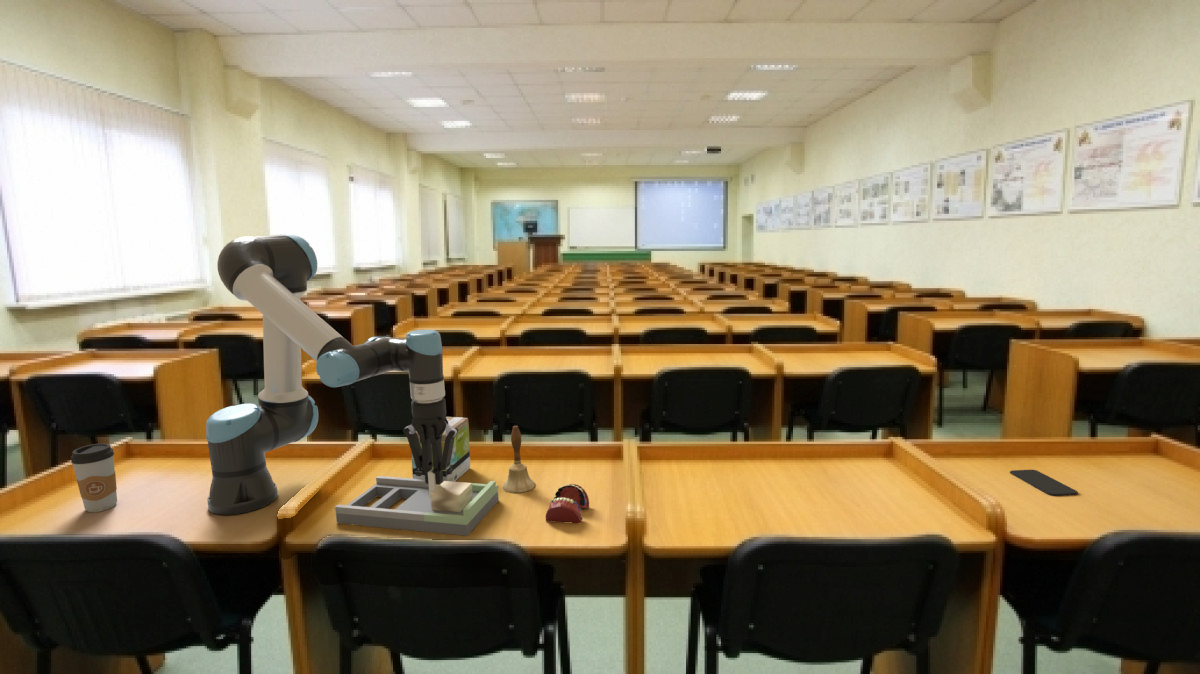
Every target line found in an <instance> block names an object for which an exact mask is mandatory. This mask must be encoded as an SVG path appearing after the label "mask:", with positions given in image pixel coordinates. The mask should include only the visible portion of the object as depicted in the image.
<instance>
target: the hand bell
mask: <svg viewBox="0 0 1200 674" xmlns="http://www.w3.org/2000/svg"><path fill="white" fill-rule="evenodd" d="M510 441H511V446H512V448H513V464H511V465H510V466H509V467H508V476H507V479H506V480H505V482H503V485H502V489H503V491H505V492H508V493H511V494H512V493H513V494H520V493H521V494H522V493H525V492H528V491H531V490H533V489H534V488H535V487H536V482H535V481H534V480H533V479H532V478H531V477H530V475H529V472H528V467H527V465H526V464H525V463H522V458H521V446H522V434H521V431H520V429H519V426H518V425H514V426H512V431H511V435H510Z"/></svg>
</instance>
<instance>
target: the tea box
mask: <svg viewBox="0 0 1200 674" xmlns="http://www.w3.org/2000/svg"><path fill="white" fill-rule="evenodd" d="M446 419H447V421H448V425H449V426H451V427H452V428H457V429H458V433H457V434H456V436H455V439H454V444H453V450H452V456H451V462H450V466H448V467H447V468H446V469H445V470H442V472H443V481H452V482H457V480H458V479H459V478H460V477H462V476H463V475H465V473H466V472H467V471H468V470H469V469H471V453H470V449H471V448H470V427H469V418H468V417H460V416H459V417H457V416H446ZM416 433H417V431H416ZM445 433H446V430H445V431H444V433H443V434H442V440H441V444H442V455H443V450H444V444H445V439H446V437H447V436H446V435H445ZM417 435H418V439H419V442H420V435H419V434H418V433H417ZM420 445H421V443H420ZM431 446H432V444H431ZM421 449H422V446H421ZM410 452H411V451H410ZM410 455H411V469H412V474H411V475H412V479H425V472H424V470H423V469H421V468H417V467H416V465H415V462H414V458H413V455H412V452H411V454H410ZM432 460H433V456H432ZM432 468H433V467H432Z"/></svg>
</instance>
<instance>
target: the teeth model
mask: <svg viewBox="0 0 1200 674" xmlns="http://www.w3.org/2000/svg"><path fill="white" fill-rule="evenodd" d="M589 508H590V499H589V495H588V493H587V492H586V490H585V489H584V488H583V487H582V486H581V485H579V484H576V483H569V484H565V485H564V484H563V485H562V486H559V487H558V489H557V490H556V491H555V494H554V497H553V499H552V500H551V501H550V502H549V505H548V508H547V511H546V513H545V522H551V521H555V522H554V523H564V522H572V523H571V524H578V523H581V524H582V520H583V518H582V509H583V510H584V509H586V510H587V509H589Z"/></svg>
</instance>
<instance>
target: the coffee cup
mask: <svg viewBox="0 0 1200 674" xmlns="http://www.w3.org/2000/svg"><path fill="white" fill-rule="evenodd" d="M111 446H112V445H111V444H110V443H93V444H89V445H84V446H81V447H77V448H76V449H74V450H73V451H72V452H71V453H72V455H71V456H70V459H71V461H70V462H71V463H70V464H72V467H73V470H74V474H75V477H76V483H77V487H78V491H79V493H80V497H81V500H82V503H83V507H84V509H85V510H86V512H88V513H97V512H98V513H99V512H103V511H107V510H110V509H112V508H114V507H115V506H116V505H117V502H118V493H117V489H118V488H117V478H116V477H117V476H116V470H115V461H114V460H115V458H114V456H115V452H114V449H113V448H112V447H111Z"/></svg>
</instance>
